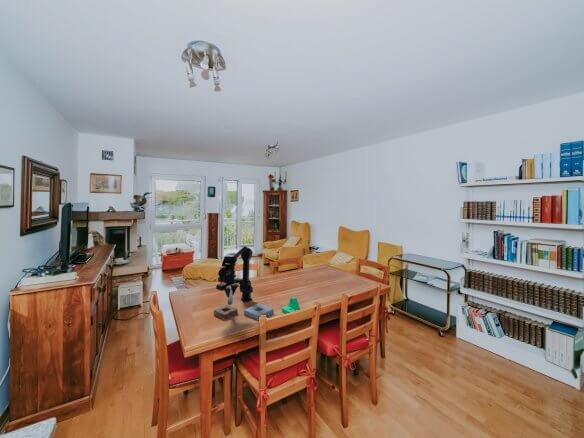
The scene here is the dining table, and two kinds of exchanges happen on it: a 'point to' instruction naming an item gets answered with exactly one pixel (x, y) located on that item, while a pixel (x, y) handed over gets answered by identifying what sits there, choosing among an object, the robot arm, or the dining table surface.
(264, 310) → the socket plate
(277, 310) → the dining table surface
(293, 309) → the camera mount
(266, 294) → the dining table surface
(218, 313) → the mount block
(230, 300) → the pin
